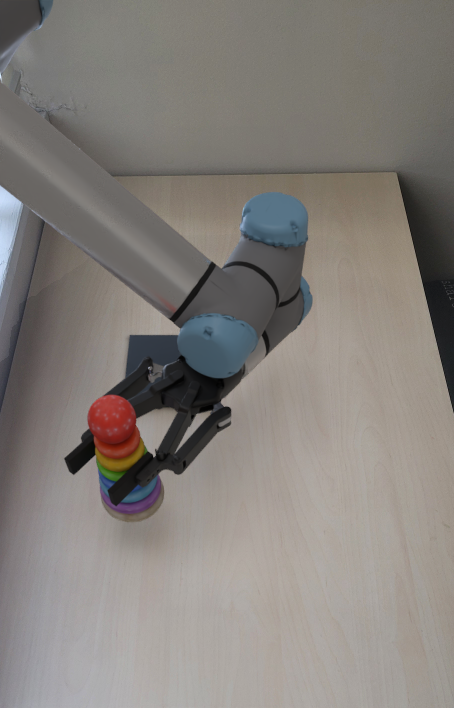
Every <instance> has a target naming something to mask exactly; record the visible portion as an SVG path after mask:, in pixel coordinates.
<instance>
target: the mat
mask: <svg viewBox="0 0 454 708" xmlns="http://www.w3.org/2000/svg"><path fill="white" fill-rule="evenodd" d="M178 335H179V334H129V338H128V348H127V357H126V367H125V375H124V376H125V377H124V379H125V378H126V377H127V376H129V375H130V374H131V373H132V372H134V371H135V370H136V369H137V368H138V367H139V365H140V363H141V362H142V360H143V359H144V358H145V357H151V358H152V360H153V363H155V364H158V365H161V366H165V365H167V364H170V363H173V362H175V361H176V360H177V359H178V358H179V356H180V355H181V354H180V352H179V350H178V344H177V339H178ZM160 380H161V377H158V378H156V379H155V380H154V382H153V383H151V382H149V384H148V385H147V386H146V387H145V388H144V389H143V390H142V391H141V392H139V393H138V394H137V395H139V394H141V393H143V392H144V391H146V390H148V389H149V388H150V386H151V385H152V384H154V383H156V382H158V381H160ZM137 395H136V396H137ZM134 397H135V396H134ZM164 408H169V407H168V406H165V407H164Z"/></svg>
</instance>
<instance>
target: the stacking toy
mask: <svg viewBox="0 0 454 708" xmlns="http://www.w3.org/2000/svg"><path fill="white" fill-rule="evenodd" d="M102 396H103V395H102ZM102 396H101V397H99V398H97V399H96V400H95V401H94V402H93V403H92V404H91V405H90V407H89V408H88V412H87V415H86V416H87V417H86V420H87V426H88V429H90V431H91V432H92V434H93V435H94V443H95V446H96V448H95V454H96V455H95V463H96V467H97V474H98V484H99V492H100V501H101V504H102V506H103V508H104V510H105V511H106V512H107V514H108V515H110V516H111V517H112V518H114V519H116V520H118V521H121V522H125V523H138V522H142V521H145V520H147V519H149V518H151V517H153V515H155V514H156V513H157V512H158V511H159V510H160V508H161V506H162V504H163V503H164V500H165V486H164V482H163V481H162V479H161V477H160V473H159V474H158V475H157V476H156V477H155V478H154V479H153V480H152V481H151V482H150V483H149V484H148V485H147V486H145V487H143V488H142V487H141V486H139V485H137V486H136V487H135V488H134V489H133V490H132V491H131V492H130V493H129V494H128V495H127V496H126V497H125V498H124V499H123V500H122V501H121V502H120V503H119V504H118V505H117V506H115V505H113V504H112V503H111V501H110V497H109V494H108V491H107V490H108V489H109V488H110V487H111V486H112V485H113V484H114V483H115V482H116V481H118V480H119V479H120V478H121V477H122V476H123V475H124V474H125V473H126V472H127V471H128V470H129V469H130V468H131V467H132V466H133V465H134V464H135V463H136V462H137V461H138V460H139V459H140V458H141V457H142V456H143V455H144V454H145V453H146V452H147V451H148V448H147V447H146V445H145V442H144V439H143V438H142V436H141V431H140V428H139V427H138V426H137V419H136V413H135V410H134V408H133V407H132V405H131V404H130V403H129V402H128V401H127V400H126V399H124V398H122V397H120V396H117V395H106V396H103V397H102Z"/></svg>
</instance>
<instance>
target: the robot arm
mask: <svg viewBox="0 0 454 708" xmlns="http://www.w3.org/2000/svg"><path fill="white" fill-rule="evenodd" d="M53 6H54V0H0V187H1V188H3V190H4V191H7V192H8V193H9V194H10V195H11V196H13V197H14V198H15V199H16V200H18V201H19V202H20V203H21V204H23V206H25V207H26V208H28V209H29V210H30V211H32V212H33V213H34V214H35V215H36V216H38V218H41V220H43V221H44V222H45V223H47V224H48V225H49V226H50V227H52V228H53V229H54V230H56V231H57V232H58V233H59V234H61V235H62V236H63V237H64V238H65V239H67V240H68V241H69V242H71V243H72V245H74V246H76V248H78V249H80V250H81V251H82V252H83V253H85V254H86V255H87V256H88V257H90V258H91V259H92V260H94V261H95V262H96V263H97V264H98V265H100V266H101V267H102V268H104V269H105V270H106V271H108V272H109V274H111V275H112V276H114V277H115V278H116V279H117V280H119V281H120V282H121V283H123V284H124V285H125V286H126V287H127V288H129V289H130V290H131V291H133V292H134V293H135V294H136V295H137V296H139V297H140V299H141V298H142V299H143V300H144V301H145V302H146V303H147V304H148V305H150V306H151V307H153V308H154V309H155V310H156V311H158V312H159V313H160V314H162V315H163V316H164V317H165V318H167V320H169V321H170V322H172V323H173V325H175V326H176V327H177V328H178V329H179V333H178V334H177V335H178V339H177V344H178V350H179V352H180V354H181V355H180V356H179V358H178V359H177V360H176V361H175V362H173V363H170V364H167V365H165V366H161V365H158V364H155V363H153V360H152V358H151V357H145V358H144V359H143V360H142V362H141V363H140V365H139V367H138V368H137V369H136V370H135V371H134V372H132V373H131V374H130V375H129V376H127V377H126V378H125V377H124V378H123V379H122V380H121V381H120V382H118V383H117V384H116V385H115V386H113V387H112V388H111V389H110V390H108V391H107V392H105V393H104V394H103V395H102V396H101V397H103V396H106V395H117V396H120V397H122V398H124V399H126V400H127V401H128V402H129V403H130V404H131V405H132V407H133V408H134V410H135V413H136V420H137V419H139V418H141V417H143V416H145V415H147V414H149V413H150V412H152V411H154V410H162V409H163V408H166V407H165V406H168V407H167V408H171V409H173V410H174V411H175V412H176V415H175V416H174V418H173V419H172V422H171V424H170V426H169V427H168V429H167V431H166V433H165V435H164V437H163V438H162V441H161V442H160V444H159V446H158V448H154V453H155V455H154V454H153V453H152V452H150V451H149V450H147V452H146V453H145V454H144V455H143V456H142V457H141V458H140V459H139V460H138V461H137V462H136V463H135V464H134V465H133V466H132V467H131V468H130V469H129V470H128V471H127V472H126V473H125V474H124V475H123V476H122V477H121V478H120V479H119V480H118V481H116V482H115V483H114V484H113V485H112V486H111V487H110V488H109V489H108V490H107V491H108V494H109V497H110V501H111V503H112V504H113V505H115V506H117V505H118V504H119V503H120V502H121V501H122V500H123V499H124V498H125V497H126V496H127V495H128V494H129V493H130V492H131V491H132V490H133V489H134V488H135V487H136V486H137V485H139V486H141V487H142V488H143V487H145V486H147V485H148V484H149V483H150V482H151V481H152V480H153V479H154V478H155V477H156V476H157V475H158V474H159V475H160V473H161V472H162V471H170V472H173V474H174V475H177V476H180V475H182V474H184V472H185V471H186V470H187V469H188V467H189V466H190V465H191V464H192V463H193V462H194V461H195V459H196V458H197V457H198V456H199V455H200V454H201V453H202V452H203V451H204V449H205V448H207V446H208V444H210V442H212V440H213V439H214V438H215V437H216V435H217V434H218V433H220V432H221V431H224V430H225V429H227V428H228V427H230V426H231V425H232V408H231V407H230V406H228V405H226V406H225V405H224V404H223V403H222V401H223V399H226V397H228V396H229V394H230V393H231V392H232V391H233V390H234V389H235V388H236V387H237V386H238V385H240V383H242V380H243V379H245V378H246V377H247V376H248V375H249V374H250V373H251V372H252V371H253V370H254V369H256V367H257V366H258V365H260V364H261V362H262V361H263V360H264V359H265V358H267V356H268V355H269V354H270V353H271V352H272V351H273V350H275V348H276V347H278V345H279V344H280V343H282V342H283V341H284V340H285V339H286V338H287V337H288V336H289V335H290V334H291V333H293V332H295V330H296V329H298V327H299V326H300V325H301V324H302V322H303V320H304V319H305V318H306V317H307V316H308V314H309V313H310V312H311V310H312V307H313V304H314V303H313V302H314V301H313V295H312V293H311V291H310V289H311V287H310V284H309V282H308V281H307V280H306V278H305V277H304V276H303V269H304V261H305V254H306V247H307V242H308V241H309V235H308V234H309V233H308V232H309V231H308V230H309V213H308V210H307V208H306V206H305V205H304V203H303V202H302V201H301V200H299V198H297V197H296V196H293V195H291V194H285V193H283V192H280V191H269V192H262V193H259V194H257V195H254V196H253V197H251V198H250V199H248V201H247V202H245V204H244V206H243V208H242V212H241V222H240V223H239V231H240V236H239V240H238V242H237V244H236V245H235V247H234V248H233V250H232V251H231V252H230V255H229V256H228V258H227V260H226V261H225V262H224V264H223V265H222V267H220V266H219V265H217V264H216V263H215V262H214V261H213V260H211V259H210V258H208V257H207V256H206V255H205V254H204V253H203V252H201V251H200V250H199V249H198V248H197V247H196V246H194V245H193V244H192V243H191V242H189V240H187V239H186V238H185V237H184V236H183V235H182V234H180V232H178V231H177V230H176V229H174V228H173V226H171V225H170V224H169V223H168V222H167V221H165V220H164V219H162V218H161V216H159V215H158V214H157V213H156V212H155V211H153V210H152V209H151V208H150V207H149V206H148V205H146V204H145V203H144V202H143V201H142V200H141V199H139V198H138V197H137V196H136V195H134V193H132V192H131V191H130V190H129V189H128V188H126V187H125V186H124V185H123V184H122V183H121V182H119V180H117V179H116V178H115V177H114V176H113V175H111V174H110V173H109V172H108V171H107V170H105V168H103V167H102V166H101V165H99V163H97V162H96V161H95V160H94V159H93V158H91V157H90V156H89V155H88V154H87V153H85V152H84V150H83V149H81V148H80V147H79V146H77V145H76V144H75V143H74V142H73V141H72V140H71V139H69V138H68V137H67V136H66V135H65V134H63V133H62V132H61V131H60V130H59V129H57V127H55V125H53V124H52V123H51V122H50V121H48V120H47V119H46V118H45V117H44V116H42V115H41V114H40V113H39V112H38V111H36V110H35V109H34V108H33V107H32V106H30V104H28V103H27V102H26V101H25V100H23V98H22V97H20V96H19V95H18V94H16V93H15V92H14V91H13V90H12V89H11V88H10V87H9V86H7V85H6V84H5V83H4V82H3V78H2V76H3V74H4V72H5V71H6V69H7V67H8V66H9V64H10V62H11V60H13V58H14V56H15V54H16V52H17V50H18V48H19V47H20V46H21V45H22V43H23V42H24V41H25V39H26V38H27V37H28V36H29V35H30V34H31V33H32V32H36V31H37V30H39V29H41V28H42V27H43V25H44V24H45V21H46V20H47V19H48V17H49V16H50V14H51V11H52V9H53ZM158 377H161V380H160V381H158V382H156V383H154V384H152V385H151V386H150V388H149V389H148V390H146V391H144V392H143V393H141V394H139V395H137V394H138V393H139V392H141V391H142V390H143V389H144V388H145V387H146V386H147V385H148V384H149V382H151V383H153V382H154V380H155V379H156V378H158ZM136 395H137V396H136ZM134 396H135V397H134ZM208 412H210V413H209V415H208V416H207V417H206V418H205V419H204V420H203V421H202V423H200V425H198V427H197V428H196V429H195V430H194V431H193V433H192V434H190V436H189V437H188V438H187V439H186V440H185V441H184V443H182V440H183V439H184V437H185V435H186V433H187V431H188V429H189V428H190V427H191V426H192V424H193V422H194V420H195V418H196V416H197V415H200V414H203V413H208ZM80 440H81V443H79V444H78V445H77V446H76V447H75V448H74V449H73V450H71V451H70V453H68V454H67V455H66V456H65V457H64V458H63V459H64V462H65V465H66V468H67V470H68V472H69V473H70V474H71V475H73V476H75V475H76V474H77V473H78V472H79V471H80V470H81V469H82V468H83V467H85V465H87V464H88V463H89V462H90V461H91V460H92V459H93V458H94V457H96V454H95V448H96V446H95V443H94V435H93V434H92V432H91V431H90V429H89V428H87V430H86V431H84V432H83V433H81V436H80ZM181 443H182V445H181V446H180V444H181ZM179 446H180V447H179Z"/></svg>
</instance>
